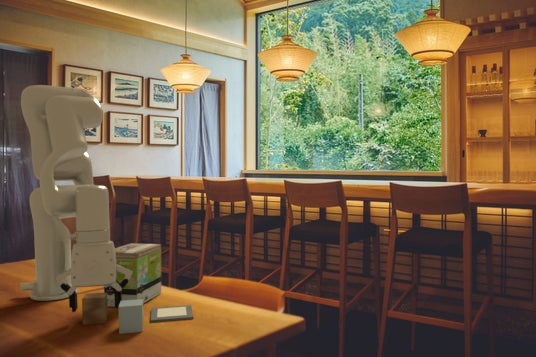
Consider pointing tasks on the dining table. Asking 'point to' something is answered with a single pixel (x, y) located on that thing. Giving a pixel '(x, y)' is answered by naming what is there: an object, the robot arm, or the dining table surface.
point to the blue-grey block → (131, 316)
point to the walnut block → (94, 308)
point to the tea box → (138, 272)
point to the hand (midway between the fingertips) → (96, 308)
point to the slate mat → (171, 313)
